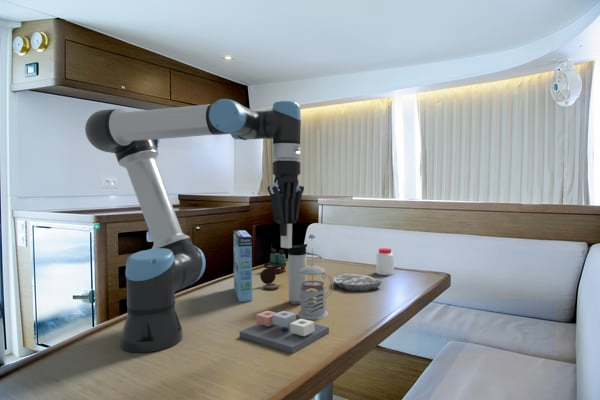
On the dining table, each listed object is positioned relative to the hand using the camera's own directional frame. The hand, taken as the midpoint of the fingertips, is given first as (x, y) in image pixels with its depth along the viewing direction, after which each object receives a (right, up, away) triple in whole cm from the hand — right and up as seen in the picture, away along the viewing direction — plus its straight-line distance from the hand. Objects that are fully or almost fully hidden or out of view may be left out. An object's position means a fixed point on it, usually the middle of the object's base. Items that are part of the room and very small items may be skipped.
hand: (286, 247), depth 106 cm
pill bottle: (+42, -20, +71) cm, 85 cm away
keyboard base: (0, -23, -1) cm, 24 cm away
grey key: (0, -22, -1) cm, 22 cm away
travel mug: (+3, -23, +29) cm, 37 cm away
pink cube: (-5, -23, +3) cm, 24 cm away
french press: (+9, -23, +16) cm, 29 cm away
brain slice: (+25, -22, +48) cm, 59 cm away
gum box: (-18, -23, +39) cm, 49 cm away
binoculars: (-8, -21, +76) cm, 79 cm away
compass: (-7, -22, +48) cm, 53 cm away
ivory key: (+4, -23, -5) cm, 24 cm away
